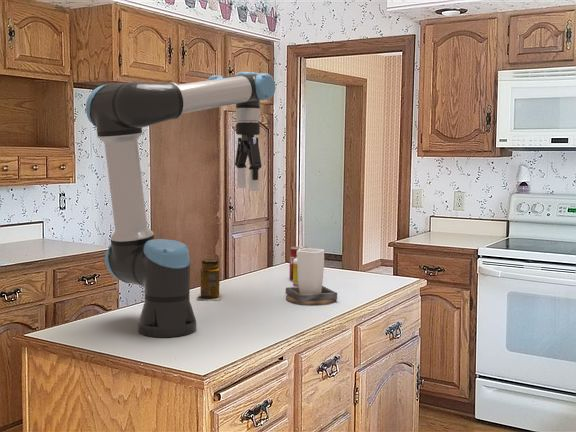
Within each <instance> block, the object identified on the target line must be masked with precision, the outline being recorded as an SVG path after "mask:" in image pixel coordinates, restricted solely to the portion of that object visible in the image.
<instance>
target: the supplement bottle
mask: <svg viewBox="0 0 576 432" xmlns="http://www.w3.org/2000/svg"><path fill="white" fill-rule="evenodd" d="M296 255H297V251H296ZM292 287H299V286H298V272H297V258H295V259H294V261H293V281H292Z"/></svg>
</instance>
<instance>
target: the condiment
mask: <svg viewBox="0 0 576 432" xmlns="http://www.w3.org/2000/svg"><path fill="white" fill-rule="evenodd" d="M221 298H222V293H220V268H219V260H217V259H210V258H209V259H207V258H206V259H203V260H201V268H200V293H199V294H198V296H197V298H196V301H221Z"/></svg>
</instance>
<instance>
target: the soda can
mask: <svg viewBox="0 0 576 432" xmlns="http://www.w3.org/2000/svg"><path fill="white" fill-rule="evenodd" d="M304 248H309V247H308V246H301V245H300V246H291V247H290V248H289V271H288V272H289V273H288V274H289V277H288V278H289V281H291V282H293V261H294V259H295V258H297V255H296V251H298V250H300V249H304Z"/></svg>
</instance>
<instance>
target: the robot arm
mask: <svg viewBox="0 0 576 432" xmlns="http://www.w3.org/2000/svg"><path fill="white" fill-rule="evenodd" d="M275 93H276V81H275V79H274V78H273V76H272V75H271V74H269V73H265V72H258V73H257V72H254V71H252V72H251V71H239V72H237V73H236V75H228V76H227V75H211V76H210V77H208V78H207V80H202V81H196V82H188V83H180V84H177V83H175V82H173V81H166V82H148V81H147V82H146V81H130V82H118V83H112V82H111V83H107V84H103V85H99V86H98V87H96V88H95V89H93V90H92V91H91V93H90V94H89V95H88V98H87V100H86V102H85V103H86V104H85V114H86V117H87V119H88V121H89V123H91V124H92V126H94V127H95V128H96V133H97V134H96V135H97V139H99V140H100V141H102V143H103V144H104V151H105V158H106V159H105V160H106V165H107V166H106V168H107V173H108V175H107V176H108V183H109V192H110V199H111V207H112V217H113V223H114V232H113V233H112V235H111V236H110V244H109V245H108V248H107V250H106V251H105V255H104V262H105V266H106V269H107V272H109V274H110V275H111V276H112V277H113V278H114V279H117V280H119V281H121V282H123V283H126V284H133V285H136V286H137V285H138V286H141V287H144V304H143V306H142V309H141V313H140V316H139V319H138V321H137V322H138V323H137V327H138V328H137V330H138V333H139V334H141V335H143V336H147V337H153V338H173V337H174V338H175V337H181V336H186V335H189V334H192V333H194V332H196V330H197V319H196V315H195V313H194V309H193V307H192V304H191V300H190V299H191V298H190V297H191V296H190V290H191V289H190V287H191V285H190V283H191V282H190V279H191V276H190V274H191V257H190V250H189V247H188V245H187V244H185V243H184V242H181V241H178V240H175V239H166V238H164V239H163V238H156V239H155V235H154V231H153V230H151V229H150V228H149V227H148V223H147V213H146V204H145V195H144V186H143V179H142V178H143V176H142V169H141V163H140V161H141V160H140V155H139V154H140V153H139V145H138V143H139V142H138V140H139V139H140V137H141V136H142V135H143V128H146V127H151V126H154V125H157V124H160V123H164V122H168V121H171V120H176V119H179V118H180V117H181V116H182V115H183V114H188V113H193V112H194V113H195V112H197V111H204V110H209V109H214V108H220V107H225V106H230V105H235V121H236V122H237V123H236V124H235V134H236V135H237V136H241V137H238V138H237V148H236V155H235V163H234V165H235V166H236V171H237V172H236V176H237V177H236V188H237V189H246V188H247V187H246V186H247V185H246V182H247V181H246V180H247V179H246V178H247V177H246V176H247V175H246V174H247V173H246V172H247V164H246V163H247V159H248V161H249V167H248V170H249V192H257V191H258V192H259V190H260V189H259V188H260V187H259V186H260V185H259V184H260V183H259V182H260V178H259V177H260V168H262V159H261V153H260V147H259V137H255V136H259V135H260V134H261V133H260V132H261V129H260V127H261V125H260V123H259V122H260V120H261V119H260V118H261V117H260V116H261V115H262V112H261V110H260V109H261V108H260V107H261V101H265V100H270V99H271V98H272V97H273V96H274V95H275Z"/></svg>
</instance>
